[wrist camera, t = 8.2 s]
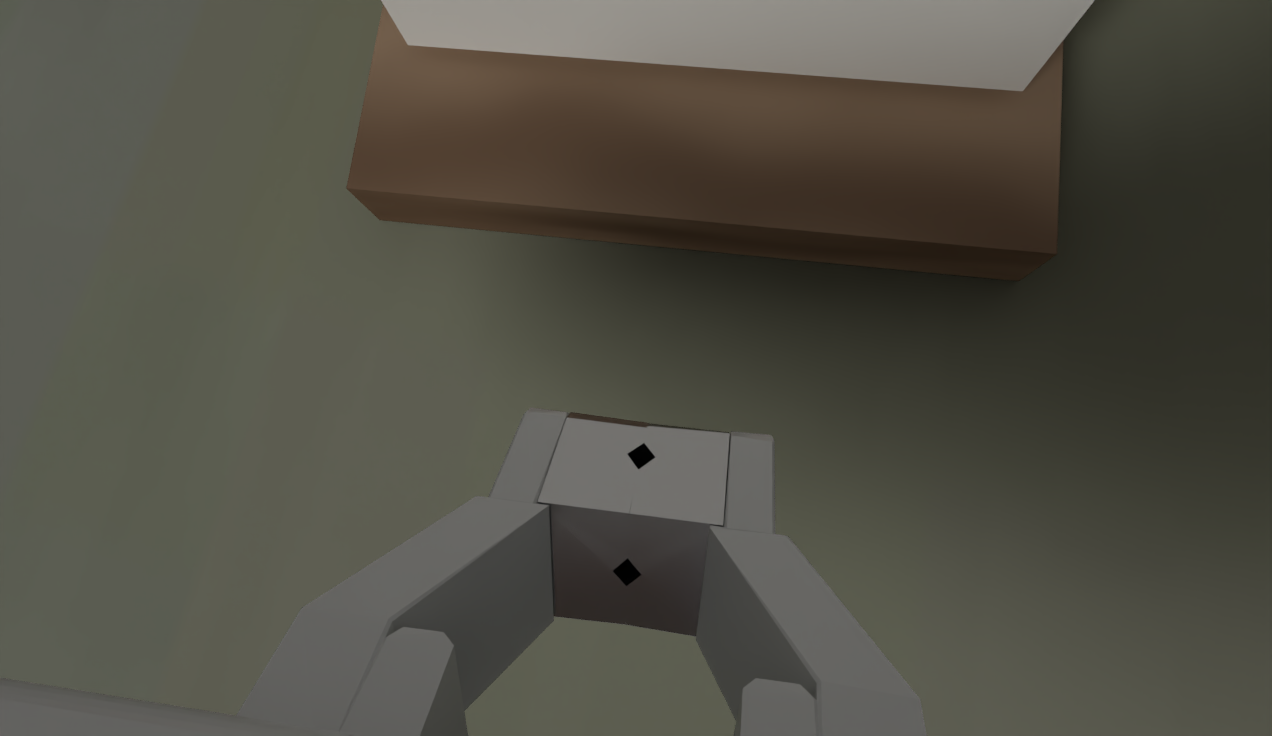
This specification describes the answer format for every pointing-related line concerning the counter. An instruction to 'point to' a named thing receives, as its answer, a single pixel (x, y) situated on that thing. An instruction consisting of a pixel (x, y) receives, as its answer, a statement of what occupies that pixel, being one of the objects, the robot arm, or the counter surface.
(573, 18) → the white flat panel
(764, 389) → the counter surface
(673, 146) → the bar
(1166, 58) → the counter surface
